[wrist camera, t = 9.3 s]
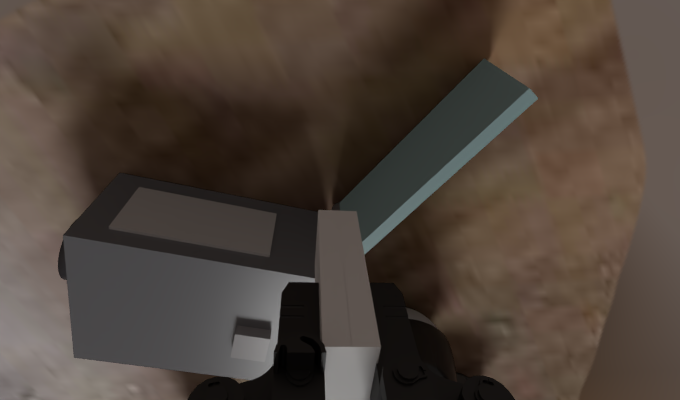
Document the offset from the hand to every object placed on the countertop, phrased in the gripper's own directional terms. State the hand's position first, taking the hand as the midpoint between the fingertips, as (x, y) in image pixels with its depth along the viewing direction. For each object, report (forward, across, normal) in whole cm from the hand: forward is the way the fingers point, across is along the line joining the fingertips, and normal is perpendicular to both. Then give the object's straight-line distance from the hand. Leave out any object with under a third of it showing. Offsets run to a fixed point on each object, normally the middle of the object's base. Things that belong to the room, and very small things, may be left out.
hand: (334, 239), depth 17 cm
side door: (+14, +6, -2) cm, 16 cm away
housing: (+15, -8, -12) cm, 21 cm away
